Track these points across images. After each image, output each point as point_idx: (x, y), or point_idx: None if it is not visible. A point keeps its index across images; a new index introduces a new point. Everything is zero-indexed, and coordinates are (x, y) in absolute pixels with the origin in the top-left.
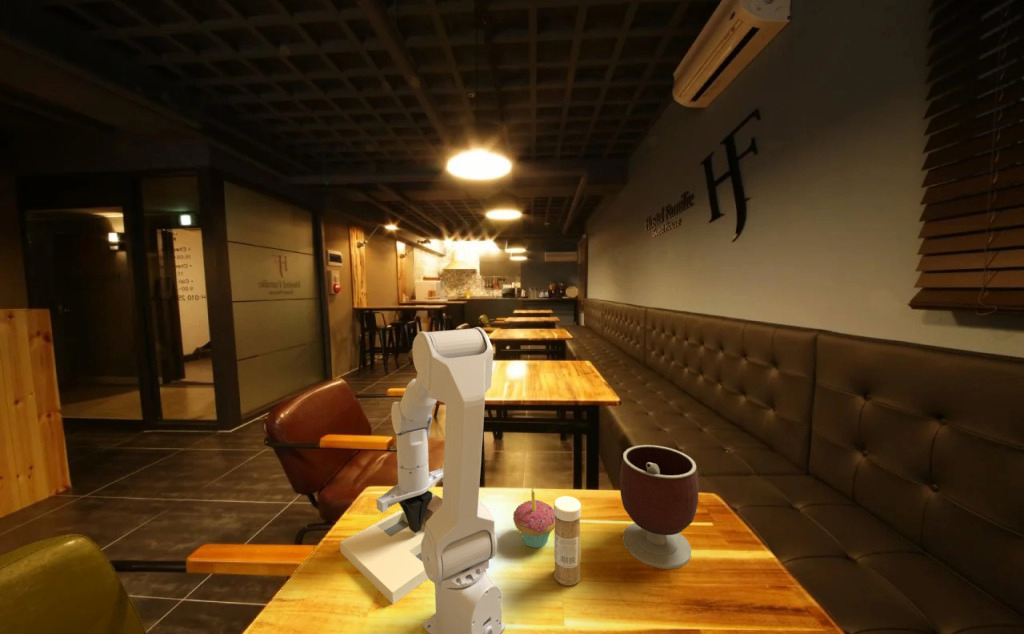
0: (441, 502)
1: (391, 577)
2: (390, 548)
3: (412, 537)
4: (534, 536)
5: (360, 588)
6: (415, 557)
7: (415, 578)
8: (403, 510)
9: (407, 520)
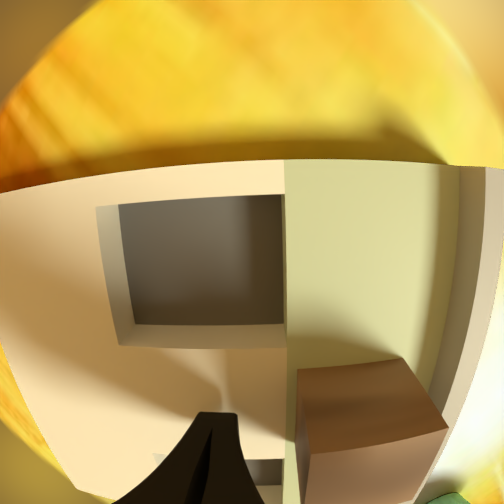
0: (394, 492)
1: (79, 470)
2: (99, 399)
3: None
4: None
5: None
6: None
7: None
8: (140, 486)
9: (181, 439)
